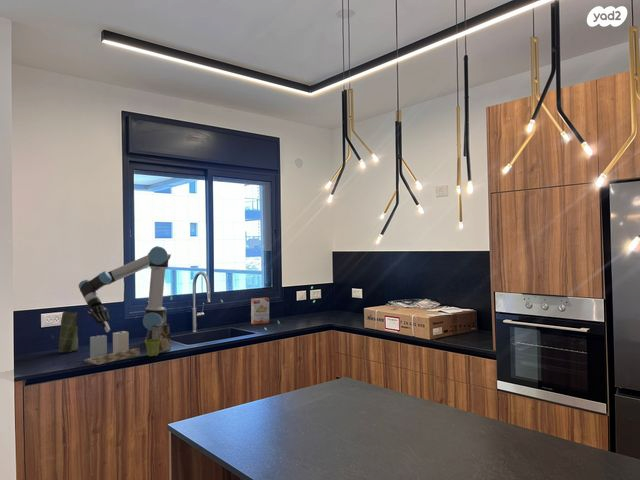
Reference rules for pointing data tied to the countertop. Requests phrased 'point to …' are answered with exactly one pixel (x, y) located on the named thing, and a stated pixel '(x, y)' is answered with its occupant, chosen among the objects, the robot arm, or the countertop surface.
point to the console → (114, 356)
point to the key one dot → (120, 341)
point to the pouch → (68, 333)
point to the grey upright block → (98, 346)
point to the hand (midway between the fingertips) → (108, 330)
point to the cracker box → (259, 310)
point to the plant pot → (152, 346)
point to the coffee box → (162, 336)
